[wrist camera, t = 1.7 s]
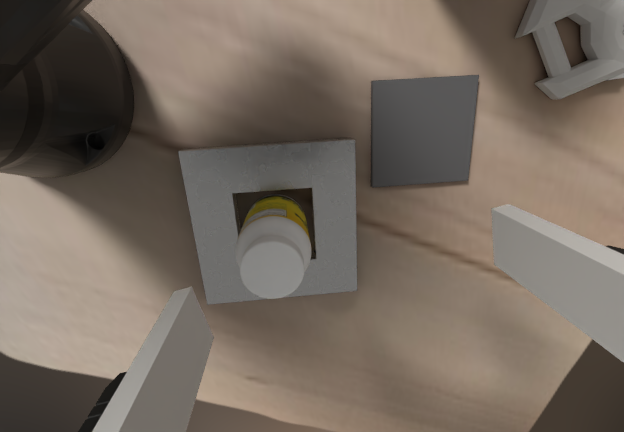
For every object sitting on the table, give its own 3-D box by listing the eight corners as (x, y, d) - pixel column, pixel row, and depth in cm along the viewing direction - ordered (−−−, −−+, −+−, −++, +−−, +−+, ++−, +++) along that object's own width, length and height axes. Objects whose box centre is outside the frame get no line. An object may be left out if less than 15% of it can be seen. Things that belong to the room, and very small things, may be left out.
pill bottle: (308, 244, 34) (318, 303, 24) (251, 251, 34) (236, 313, 24) (303, 189, 32) (311, 227, 22) (242, 195, 32) (221, 237, 22)
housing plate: (211, 294, 35) (207, 304, 34) (184, 148, 30) (177, 151, 28) (353, 281, 36) (357, 290, 34) (351, 137, 31) (355, 139, 29)
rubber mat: (371, 186, 33) (372, 187, 32) (371, 81, 30) (373, 80, 29) (464, 179, 33) (468, 180, 33) (475, 75, 30) (479, 74, 30)
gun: (763, -109, 24) (754, 29, 28) (708, -84, 27) (706, 36, 31) (525, 1, 26) (544, 117, 30) (501, 11, 30) (520, 115, 33)
